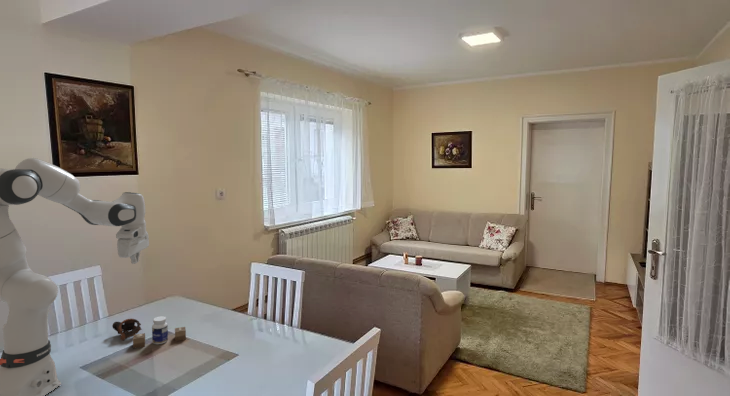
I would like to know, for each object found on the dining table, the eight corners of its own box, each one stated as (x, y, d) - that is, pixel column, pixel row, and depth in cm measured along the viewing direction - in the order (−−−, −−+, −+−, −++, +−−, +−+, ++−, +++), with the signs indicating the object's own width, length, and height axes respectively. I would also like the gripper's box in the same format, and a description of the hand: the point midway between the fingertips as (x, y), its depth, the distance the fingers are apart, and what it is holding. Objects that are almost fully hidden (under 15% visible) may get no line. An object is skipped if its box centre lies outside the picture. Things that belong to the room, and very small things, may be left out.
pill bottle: (149, 343, 163) (148, 320, 162) (160, 337, 168) (159, 314, 167) (160, 345, 161) (159, 322, 160) (171, 339, 167) (170, 316, 166)
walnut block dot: (144, 346, 160) (144, 336, 160) (133, 348, 159) (132, 338, 158) (145, 342, 164) (145, 332, 163) (134, 344, 162) (133, 334, 162)
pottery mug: (146, 330, 175) (145, 318, 171) (134, 349, 167) (133, 337, 163) (118, 324, 174) (117, 311, 170) (104, 342, 166) (103, 330, 162)
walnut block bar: (185, 339, 167) (185, 329, 167) (175, 341, 166) (175, 331, 165) (185, 335, 171) (185, 326, 170) (175, 337, 169) (174, 327, 169)
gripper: (137, 226, 177) (138, 256, 179) (113, 235, 157) (115, 269, 159) (152, 226, 178) (153, 256, 180) (130, 235, 158) (131, 269, 159)
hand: (135, 262), depth 169 cm, fingers closed
